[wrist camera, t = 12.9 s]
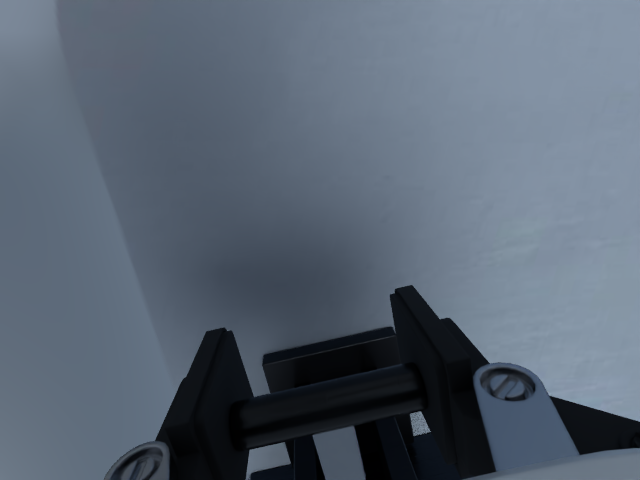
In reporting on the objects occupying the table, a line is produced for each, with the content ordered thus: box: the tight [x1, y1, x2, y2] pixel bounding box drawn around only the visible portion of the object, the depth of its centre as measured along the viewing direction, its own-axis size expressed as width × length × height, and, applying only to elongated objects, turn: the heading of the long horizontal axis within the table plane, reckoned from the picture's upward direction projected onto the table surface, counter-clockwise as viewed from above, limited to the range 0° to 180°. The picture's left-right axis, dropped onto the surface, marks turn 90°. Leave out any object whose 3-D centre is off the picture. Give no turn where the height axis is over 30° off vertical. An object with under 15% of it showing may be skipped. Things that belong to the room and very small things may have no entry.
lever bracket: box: [262, 327, 417, 480], centre depth 17 cm, size 8×8×12 cm
